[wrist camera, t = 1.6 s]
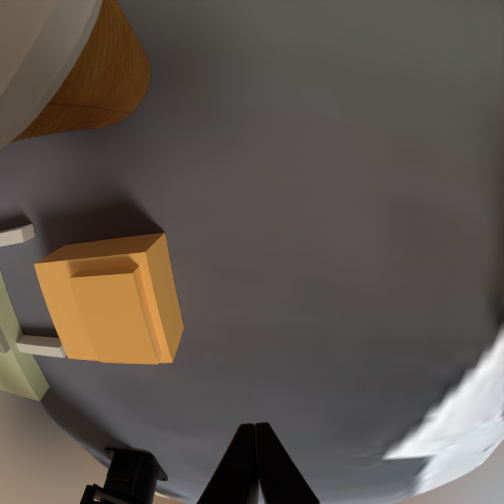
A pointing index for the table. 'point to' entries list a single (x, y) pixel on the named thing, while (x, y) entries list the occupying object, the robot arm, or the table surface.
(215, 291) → the table surface
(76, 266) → the orange block with panel
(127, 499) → the robot arm
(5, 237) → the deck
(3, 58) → the disposable coffee cup
